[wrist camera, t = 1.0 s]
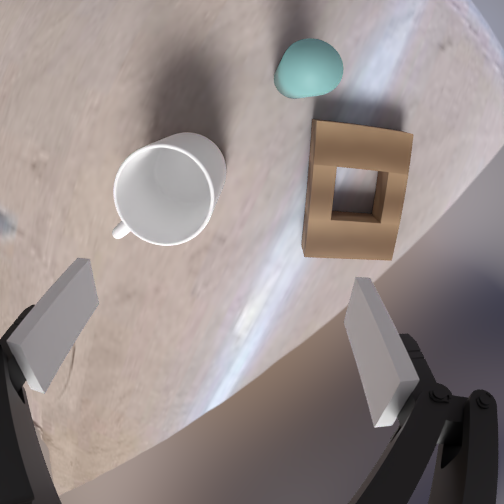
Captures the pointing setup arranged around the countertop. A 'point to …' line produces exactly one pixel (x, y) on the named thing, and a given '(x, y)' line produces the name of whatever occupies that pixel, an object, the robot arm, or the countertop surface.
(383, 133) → the socket
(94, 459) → the countertop surface
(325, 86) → the peg
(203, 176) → the cup
